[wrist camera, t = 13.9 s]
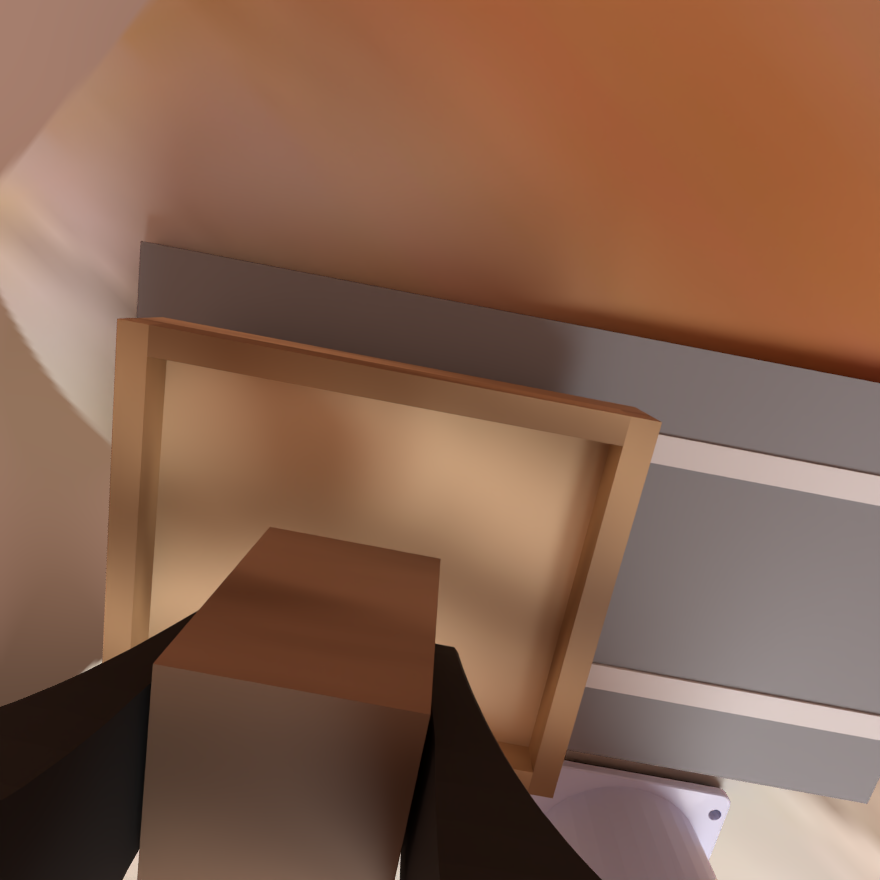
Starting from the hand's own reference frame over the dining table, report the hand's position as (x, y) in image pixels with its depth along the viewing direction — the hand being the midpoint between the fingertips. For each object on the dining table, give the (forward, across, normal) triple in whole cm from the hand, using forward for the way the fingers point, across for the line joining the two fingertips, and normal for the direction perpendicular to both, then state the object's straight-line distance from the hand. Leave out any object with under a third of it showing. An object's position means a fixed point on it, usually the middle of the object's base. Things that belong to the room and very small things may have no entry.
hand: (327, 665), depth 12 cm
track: (+9, -6, 0) cm, 11 cm away
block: (+2, 0, 0) cm, 2 cm away
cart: (+8, 0, 0) cm, 8 cm away
